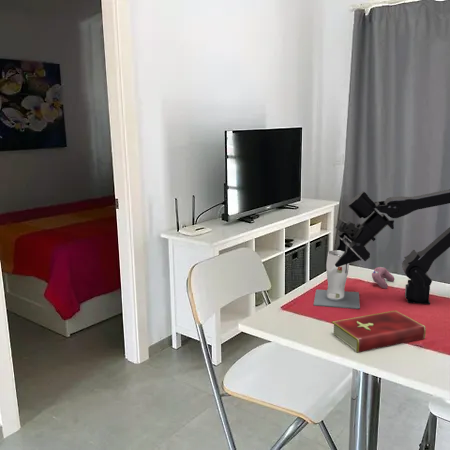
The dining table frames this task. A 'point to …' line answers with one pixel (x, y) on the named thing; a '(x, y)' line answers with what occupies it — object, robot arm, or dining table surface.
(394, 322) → the hardcover book
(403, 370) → the dining table surface
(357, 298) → the coaster
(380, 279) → the video game controller
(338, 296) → the beer glass
